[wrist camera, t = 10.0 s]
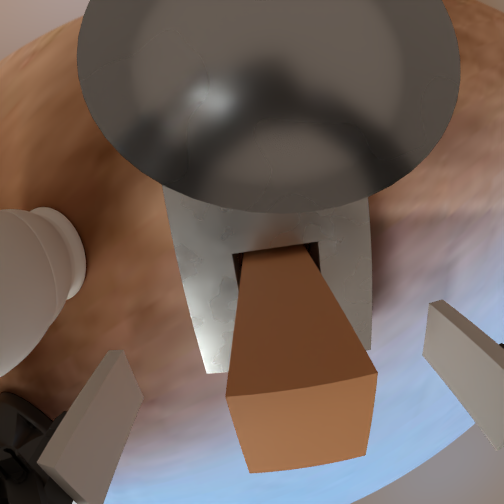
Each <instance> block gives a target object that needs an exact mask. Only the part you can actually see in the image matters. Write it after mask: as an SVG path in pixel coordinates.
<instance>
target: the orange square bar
mask: <svg viewBox="0 0 504 504" xmlns="http://www.w3.org/2000/svg"><path fill="white" fill-rule="evenodd" d="M377 375H378V372H377V370H376V369H375V367H374V365H373V363H372V361H371V359H370V358H369V356H368V354H367V352H366V350H365V349H364V347H363V345H362V343H361V341H360V340H359V338H358V336H357V334H356V333H355V331H354V329H353V327H352V326H351V324H350V322H349V320H348V319H347V317H346V315H345V313H344V312H343V310H342V308H341V306H340V305H339V303H338V301H337V300H336V298H335V296H334V295H333V293H332V291H331V290H330V288H329V286H328V284H327V283H326V281H325V279H324V278H323V276H322V274H321V273H320V271H319V270H318V268H317V266H316V265H315V263H314V261H313V260H312V258H311V256H310V255H309V253H308V252H307V250H306V248H305V247H304V245H303V244H296V245H289V246H283V247H276V248H269V249H262V250H255V251H248V252H244V255H243V263H242V270H241V278H240V286H239V293H238V301H237V309H236V317H235V324H234V332H233V340H232V348H231V356H230V364H229V372H228V380H227V388H226V396H225V397H226V400H227V404H228V407H229V411H230V414H231V417H232V420H233V424H234V427H235V430H236V433H237V436H238V439H239V443H240V446H241V449H242V452H243V455H244V458H245V461H246V464H247V467H248V470H249V473H262V472H273V471H283V470H291V469H299V468H305V467H312V466H318V465H323V464H329V463H334V462H339V461H343V460H348V459H352V458H356V457H360V456H364V455H366V450H367V444H368V439H369V433H370V427H371V421H372V415H373V408H374V401H375V393H376V385H377Z"/></svg>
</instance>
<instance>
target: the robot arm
mask: <svg viewBox="0 0 504 504" xmlns="http://www.w3.org/2000/svg"><path fill="white" fill-rule="evenodd" d="M422 355H423V357H424V358H425V359H426V360H427V361H428V363H429V364H430V365H431V366H432V367H433V369H434V370H435V371H436V372H437V374H438V375H439V376H440V377H441V379H442V380H443V381H444V382H445V383H446V385H447V386H448V387H449V389H450V390H451V391H452V392H453V394H454V395H455V396H456V397H457V399H458V400H459V401H460V403H461V404H462V405H463V406H464V408H465V409H466V410H467V412H468V413H469V414H470V416H471V417H472V418H473V420H474V421H475V422H476V424H477V425H478V426H479V428H480V429H481V430H482V432H483V433H484V435H485V436H486V437H487V439H488V440H489V442H490V443H491V444H492V446H493V447H494V449H495V450H496V451H498V450H499V449H501V448H502V447H504V344H502V343H501V344H499V345H498V344H497V343H496V342H495V341H494V340H492V339H491V338H490V337H489V336H488V335H486V334H485V333H484V332H483V331H482V330H480V329H479V328H478V327H477V326H476V325H474V324H473V323H472V322H471V321H469V320H468V319H467V318H466V317H464V316H463V315H462V314H460V313H459V312H458V311H457V310H455V309H454V308H453V307H452V306H450V305H449V304H448V303H446V302H445V301H444V300H439V301H436V302H432V303H429V309H428V318H427V327H426V334H425V341H424V348H423V354H422ZM143 399H144V397H143V394H142V392H141V390H140V388H139V386H138V383H137V381H136V379H135V377H134V374H133V372H132V370H131V367H130V365H129V363H128V360H127V358H126V355H125V353H124V350H109V351H108V352H107V354H106V355H105V356H104V358H103V359H102V361H101V362H100V364H99V365H98V367H97V368H96V370H95V371H94V372H93V374H92V375H91V377H90V378H89V380H88V381H87V383H86V384H85V386H84V387H83V389H82V390H81V392H80V393H79V395H78V396H77V398H76V399H75V401H74V403H73V404H72V406H71V407H70V409H69V410H68V412H67V411H64V412H63V413H61V414H60V415H59V416H58V417H57V418H55V420H54V421H53V422H52V421H51V420H50V419H49V418H48V417H46V416H45V415H44V414H43V413H42V412H40V411H39V410H38V409H37V408H35V407H34V406H33V405H31V404H30V403H28V402H27V401H25V400H24V399H22V398H20V397H18V396H16V395H14V394H11V393H7V392H4V393H1V394H0V504H72V502H73V500H74V501H75V502H76V503H77V504H103V503H104V500H105V497H106V494H107V492H108V489H109V486H110V483H111V481H112V478H113V475H114V473H115V470H116V467H117V465H118V462H119V459H120V457H121V454H122V451H123V449H124V446H125V444H126V441H127V439H128V436H129V433H130V431H131V428H132V426H133V423H134V421H135V418H136V416H137V413H138V411H139V409H140V406H141V404H142V401H143Z"/></svg>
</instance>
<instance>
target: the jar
mask: <svg viewBox="0 0 504 504" xmlns="http://www.w3.org/2000/svg"><path fill="white" fill-rule="evenodd" d="M85 273H86V258H85V252H84V248H83V245H82V242H81V239H80V237H79V235H78V233H77V231H76V229H75V228H74V226H73V225H72V223H71V222H70V221H69V220H68V219H67V218H66V217H65V216H64V215H63V214H61V213H60V212H58V211H57V210H54V209H52V208H48V207H39V208H35V209H33V210H31V211H30V212H29V211H25V210H19V209H4V210H0V377H1V376H3V375H4V374H6V373H7V372H9V371H10V370H11V369H13V368H14V367H15V366H17V365H18V364H19V363H20V362H21V361H22V360H23V359H24V358H25V357H26V356H27V355H28V354H29V353H30V352H31V351H32V350H33V349H34V348H35V346H36V345H37V344H38V343H39V341H40V340H41V339H42V337H43V336H44V334H45V333H46V331H47V330H48V328H49V326H50V325H51V324H52V323H53V321H54V320H55V319H56V318H57V316H58V315H59V313H60V311H61V310H62V308H63V306H64V304H65V302H66V300H67V299H70V298H72V297H73V296H74V295H75V294H77V292H78V291H79V290H80V288H81V286H82V284H83V282H84V278H85Z"/></svg>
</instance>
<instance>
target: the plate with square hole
mask: <svg viewBox="0 0 504 504" xmlns="http://www.w3.org/2000/svg"><path fill="white" fill-rule="evenodd" d="M77 66H78V77H79V81H80V85H81V89H82V93H83V97H84V100H85V102H86V104H87V107H88V109H89V111H90V113H91V116H92V118H93V119H94V121H95V122H96V124H97V126H98V127H99V129H100V130H101V132H102V133H103V135H104V136H105V138H106V139H107V140H108V141H109V142H110V143H111V144H112V145H113V147H114V148H115V149H116V150H117V151H118V152H119V153H120V154H121V155H122V156H123V157H124V158H125V159H126V160H128V161H129V162H130V163H131V164H133V165H134V166H135V167H136V168H137V169H139V170H140V171H141V172H142V173H144V174H146V175H147V176H149V177H151V178H152V179H154V180H156V181H157V182H159V183H161V184H162V187H163V193H164V198H165V203H166V209H167V214H168V219H169V224H170V229H171V234H172V239H173V243H174V248H175V252H176V257H177V261H178V266H179V270H180V274H181V279H182V283H183V287H184V291H185V295H186V299H187V303H188V307H189V311H190V315H191V319H192V322H193V326H194V330H195V334H196V337H197V341H198V344H199V348H200V351H201V355H202V358H203V362H204V365H205V369H206V372H207V373H219V372H229V364H230V356H231V348H232V340H233V332H234V324H235V317H236V309H237V301H238V293H239V286H240V278H241V269H240V264H239V258H238V253H241V252H248V251H255V250H262V249H269V248H276V247H283V246H289V245H296V244H303V243H310V251H311V258H312V260H313V261H314V263H315V265H316V266H317V268H318V270H319V271H320V273H321V274H322V276H323V278H324V279H325V281H326V283H327V284H328V286H329V288H330V290H331V291H332V293H333V295H334V296H335V298H336V300H337V301H338V303H339V305H340V306H341V308H342V310H343V312H344V313H345V315H346V317H347V319H348V320H349V322H350V324H351V326H352V327H353V329H354V331H355V333H356V334H357V336H358V338H359V340H360V341H361V343H362V345H363V347H364V349H365V350H371V330H372V255H371V233H370V218H369V205H368V197H369V196H371V195H373V194H375V193H377V192H379V191H381V190H383V189H385V188H387V187H389V186H391V185H393V184H394V183H395V182H397V181H398V180H400V179H401V178H403V177H404V176H405V175H407V174H408V173H410V172H411V171H412V170H413V169H414V168H415V167H416V166H417V165H418V164H419V163H421V162H422V161H423V160H424V159H425V158H426V157H427V156H428V155H429V153H430V152H431V151H432V149H433V148H434V147H435V145H436V144H437V143H438V141H439V140H440V139H441V137H442V135H443V133H444V131H445V130H446V128H447V126H448V124H449V122H450V120H451V117H452V114H453V111H454V108H455V105H456V102H457V98H458V92H459V85H460V55H459V49H458V42H457V38H456V35H455V31H454V28H453V25H452V22H451V19H450V17H449V15H448V12H447V10H446V8H445V6H444V4H443V2H442V0H90V2H89V4H88V7H87V9H86V11H85V14H84V16H83V20H82V24H81V28H80V32H79V37H78V48H77Z"/></svg>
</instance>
